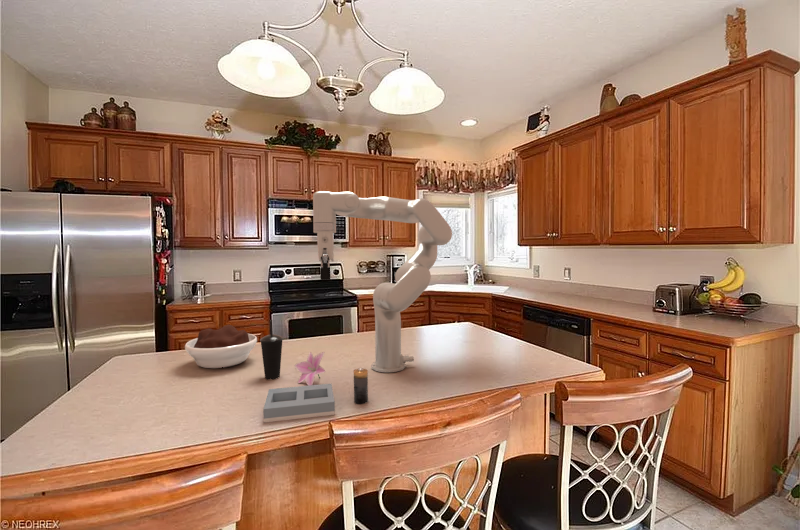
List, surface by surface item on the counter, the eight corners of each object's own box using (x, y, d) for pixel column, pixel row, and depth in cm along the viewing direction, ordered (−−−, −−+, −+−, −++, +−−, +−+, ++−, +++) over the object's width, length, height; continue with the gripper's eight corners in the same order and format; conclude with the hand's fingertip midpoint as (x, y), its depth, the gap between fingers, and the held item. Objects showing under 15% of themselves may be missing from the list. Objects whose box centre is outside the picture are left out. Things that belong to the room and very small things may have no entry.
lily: (294, 380, 130) (285, 360, 125) (325, 362, 135) (317, 342, 130) (307, 401, 121) (297, 381, 116) (339, 381, 125) (331, 361, 121)
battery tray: (331, 394, 114) (331, 383, 114) (334, 414, 100) (334, 401, 100) (269, 400, 110) (269, 389, 109) (263, 422, 96) (263, 409, 96)
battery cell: (366, 397, 111) (366, 366, 111) (369, 403, 107) (368, 370, 107) (353, 399, 110) (352, 367, 110) (354, 404, 106) (354, 371, 106)
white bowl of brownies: (240, 375, 132) (239, 333, 131) (170, 375, 132) (168, 333, 131) (267, 355, 157) (266, 319, 156) (208, 355, 157) (207, 319, 156)
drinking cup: (276, 381, 125) (275, 322, 124) (256, 380, 127) (254, 321, 126) (288, 374, 133) (286, 318, 132) (268, 372, 134) (267, 317, 133)
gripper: (336, 227, 120) (337, 280, 120) (335, 229, 137) (336, 276, 137) (312, 227, 118) (313, 281, 119) (314, 229, 135) (315, 277, 136)
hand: (325, 278), depth 128 cm, fingers open, 9 cm apart
